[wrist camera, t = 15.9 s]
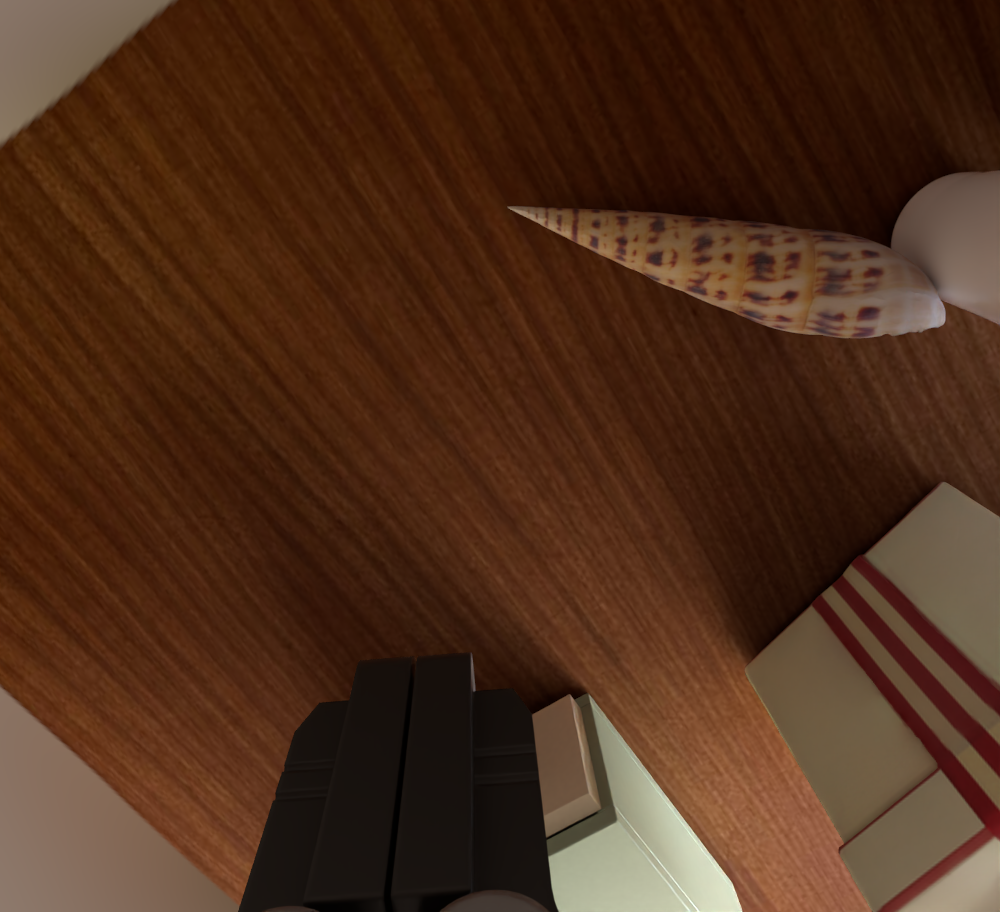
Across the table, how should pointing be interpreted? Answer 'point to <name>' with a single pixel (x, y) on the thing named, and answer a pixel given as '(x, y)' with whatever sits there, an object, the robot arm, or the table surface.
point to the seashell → (763, 269)
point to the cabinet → (632, 842)
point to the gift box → (904, 708)
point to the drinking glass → (956, 239)
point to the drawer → (564, 766)
